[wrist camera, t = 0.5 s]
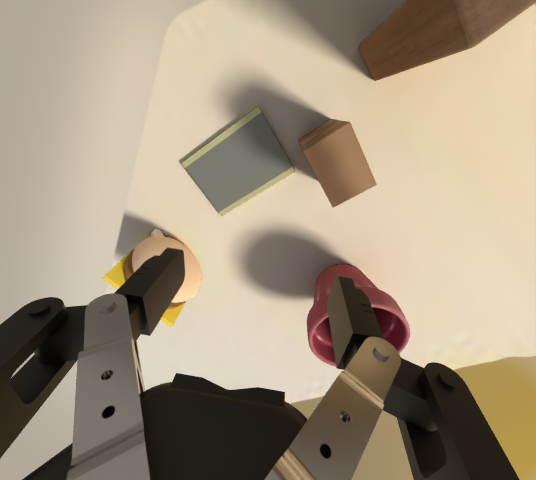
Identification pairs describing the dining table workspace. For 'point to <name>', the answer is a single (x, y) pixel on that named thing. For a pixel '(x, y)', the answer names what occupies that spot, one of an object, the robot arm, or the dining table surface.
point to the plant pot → (381, 302)
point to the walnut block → (337, 161)
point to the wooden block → (434, 32)
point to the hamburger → (156, 247)
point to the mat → (239, 163)
